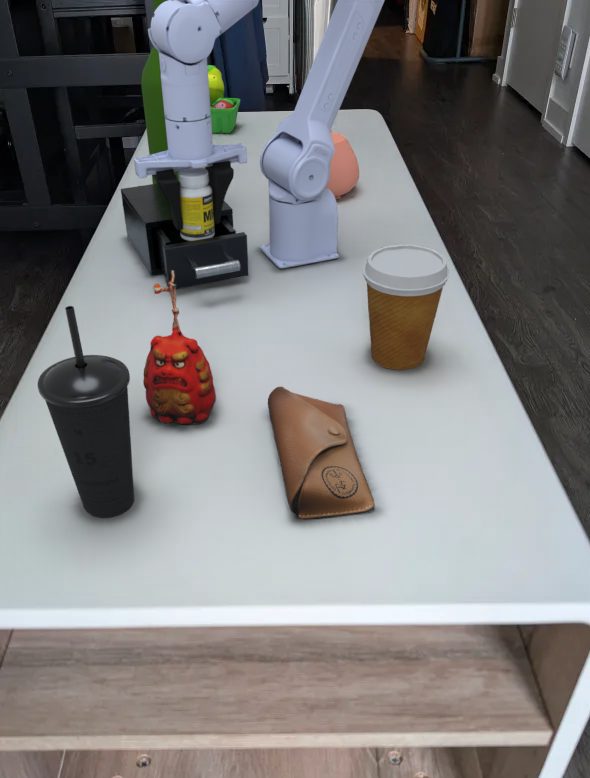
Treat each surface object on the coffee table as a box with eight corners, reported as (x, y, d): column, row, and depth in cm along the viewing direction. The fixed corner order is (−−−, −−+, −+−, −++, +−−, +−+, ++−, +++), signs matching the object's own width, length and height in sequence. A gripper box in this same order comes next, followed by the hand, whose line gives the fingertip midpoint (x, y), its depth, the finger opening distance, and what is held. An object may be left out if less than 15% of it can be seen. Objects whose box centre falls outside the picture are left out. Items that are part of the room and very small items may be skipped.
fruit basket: (181, 134, 164) (175, 73, 157) (191, 121, 171) (186, 62, 163) (235, 135, 163) (232, 74, 155) (243, 123, 169) (241, 63, 162)
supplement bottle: (210, 243, 107) (205, 179, 101) (176, 241, 107) (169, 177, 102) (219, 229, 110) (215, 166, 105) (186, 227, 111) (180, 165, 105)
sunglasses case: (382, 507, 74) (348, 461, 70) (316, 543, 75) (280, 500, 71) (343, 401, 87) (313, 358, 83) (288, 433, 89) (256, 392, 85)
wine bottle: (197, 223, 128) (177, -18, 106) (147, 217, 130) (117, -20, 109) (218, 203, 134) (203, -28, 113) (169, 198, 136) (146, -30, 115)
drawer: (260, 289, 107) (259, 248, 104) (179, 305, 104) (175, 263, 101) (217, 240, 120) (215, 201, 116) (144, 253, 117) (139, 213, 113)
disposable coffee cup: (444, 343, 97) (457, 248, 89) (429, 383, 91) (442, 284, 83) (368, 332, 100) (374, 238, 92) (348, 370, 93) (353, 272, 85)
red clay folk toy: (141, 426, 85) (121, 296, 75) (157, 391, 90) (140, 264, 81) (211, 431, 84) (200, 299, 74) (223, 395, 89) (214, 268, 80)
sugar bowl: (355, 205, 132) (358, 140, 126) (272, 202, 134) (271, 138, 127) (361, 180, 141) (364, 118, 135) (283, 177, 143) (282, 116, 136)
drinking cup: (72, 479, 79) (27, 289, 65) (149, 473, 79) (120, 283, 66) (63, 530, 73) (12, 334, 60) (147, 525, 73) (115, 328, 60)
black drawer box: (235, 260, 117) (232, 208, 112) (151, 275, 113) (145, 223, 108) (204, 225, 127) (201, 176, 122) (127, 238, 124) (120, 188, 119)
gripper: (138, 131, 94) (152, 243, 103) (253, 116, 98) (257, 226, 107) (124, 116, 99) (138, 224, 108) (234, 102, 103) (239, 208, 112)
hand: (196, 224), depth 108 cm, fingers closed on supplement bottle, 5 cm apart
